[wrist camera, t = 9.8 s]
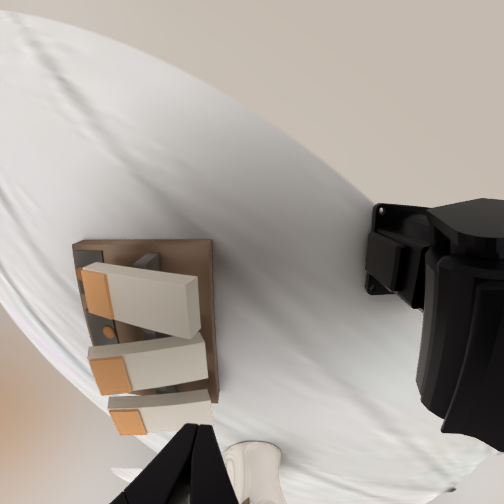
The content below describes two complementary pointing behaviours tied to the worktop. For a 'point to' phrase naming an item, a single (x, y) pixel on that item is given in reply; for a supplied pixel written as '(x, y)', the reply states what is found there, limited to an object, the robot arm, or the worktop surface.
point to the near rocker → (144, 298)
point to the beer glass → (255, 472)
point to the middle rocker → (148, 364)
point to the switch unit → (164, 260)
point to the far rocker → (160, 412)
